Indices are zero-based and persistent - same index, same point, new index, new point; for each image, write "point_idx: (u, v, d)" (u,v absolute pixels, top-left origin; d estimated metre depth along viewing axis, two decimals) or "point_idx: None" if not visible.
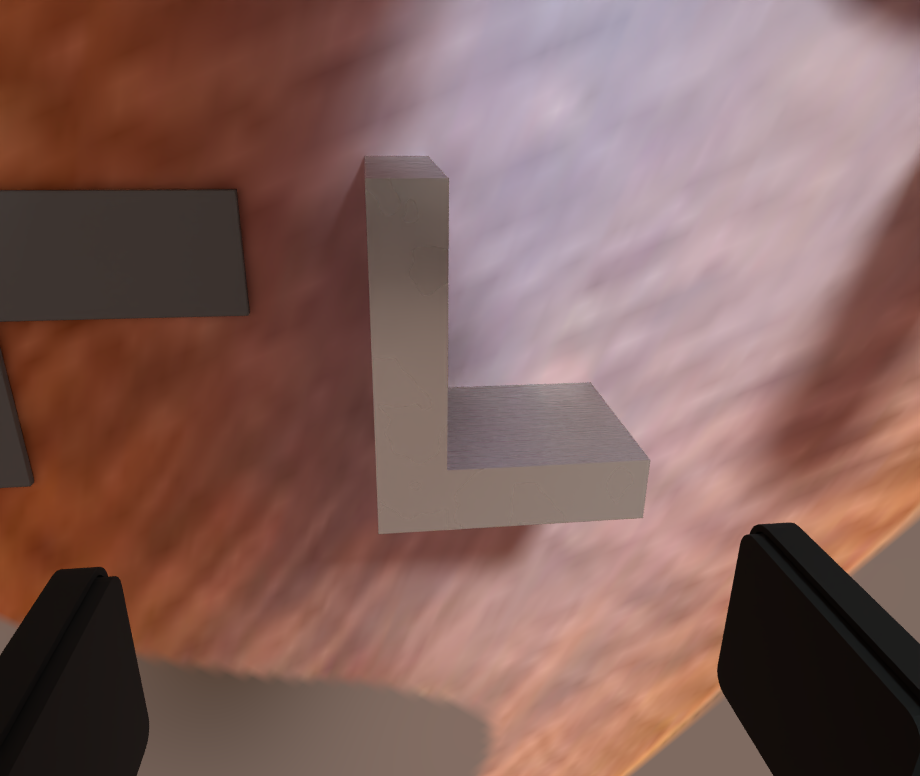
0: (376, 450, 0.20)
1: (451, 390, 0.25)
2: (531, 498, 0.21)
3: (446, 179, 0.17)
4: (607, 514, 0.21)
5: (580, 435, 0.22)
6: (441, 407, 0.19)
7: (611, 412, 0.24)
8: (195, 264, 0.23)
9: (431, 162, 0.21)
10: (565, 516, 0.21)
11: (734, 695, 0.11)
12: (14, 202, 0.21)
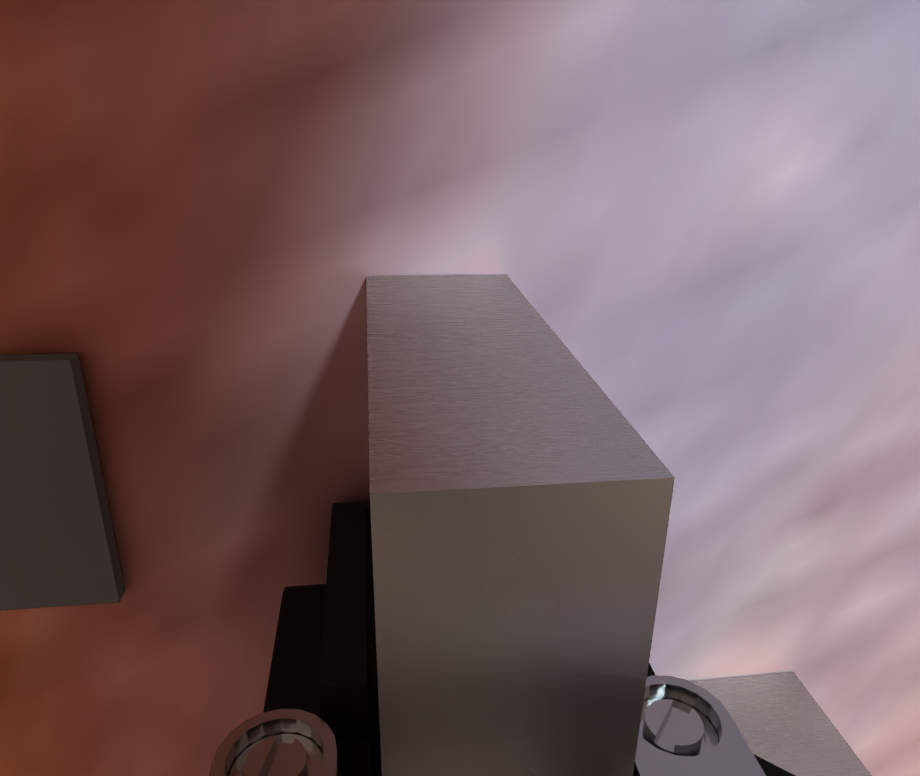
0: None
1: None
2: None
3: (667, 483, 0.05)
4: None
5: None
6: None
7: None
8: None
9: (533, 314, 0.08)
10: None
11: None
12: None
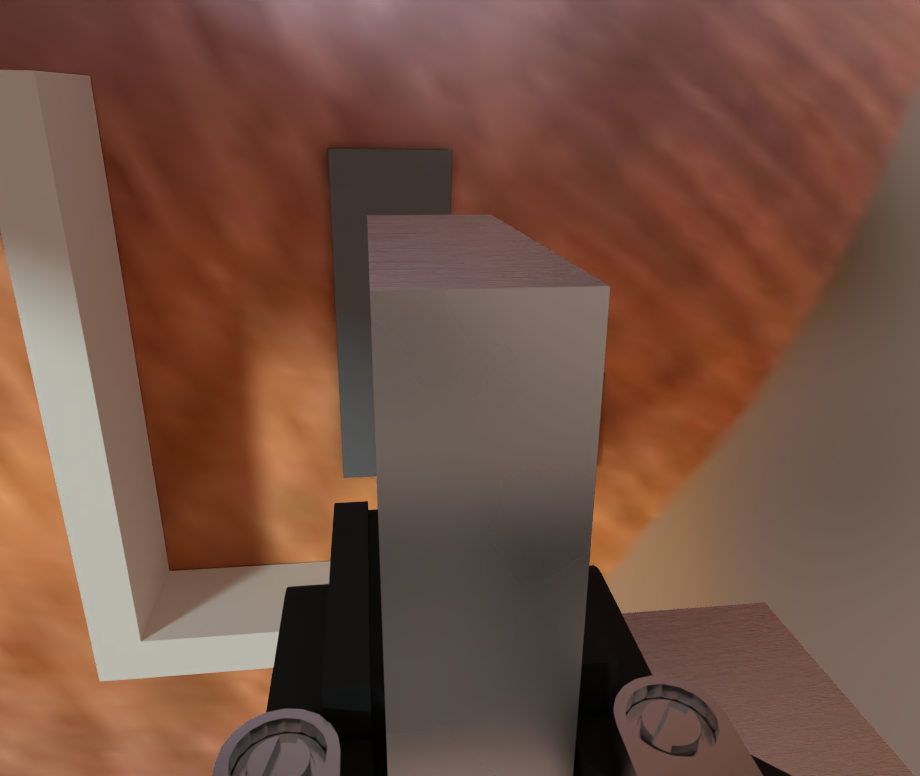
0: None
1: None
2: None
3: (604, 289, 0.06)
4: None
5: None
6: None
7: (840, 696, 0.12)
8: (399, 196, 0.24)
9: (511, 230, 0.10)
10: None
11: None
12: (346, 339, 0.25)
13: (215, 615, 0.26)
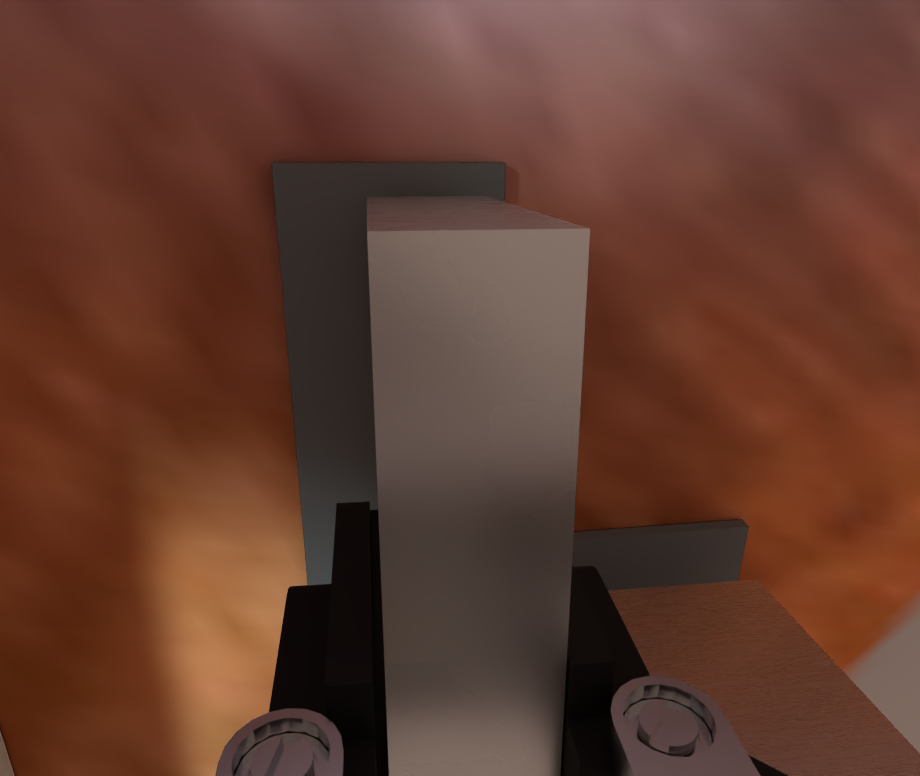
0: None
1: None
2: None
3: (584, 231, 0.06)
4: None
5: (801, 736, 0.11)
6: (547, 758, 0.08)
7: (830, 663, 0.13)
8: None
9: (503, 203, 0.10)
10: None
11: None
12: (316, 494, 0.14)
13: None
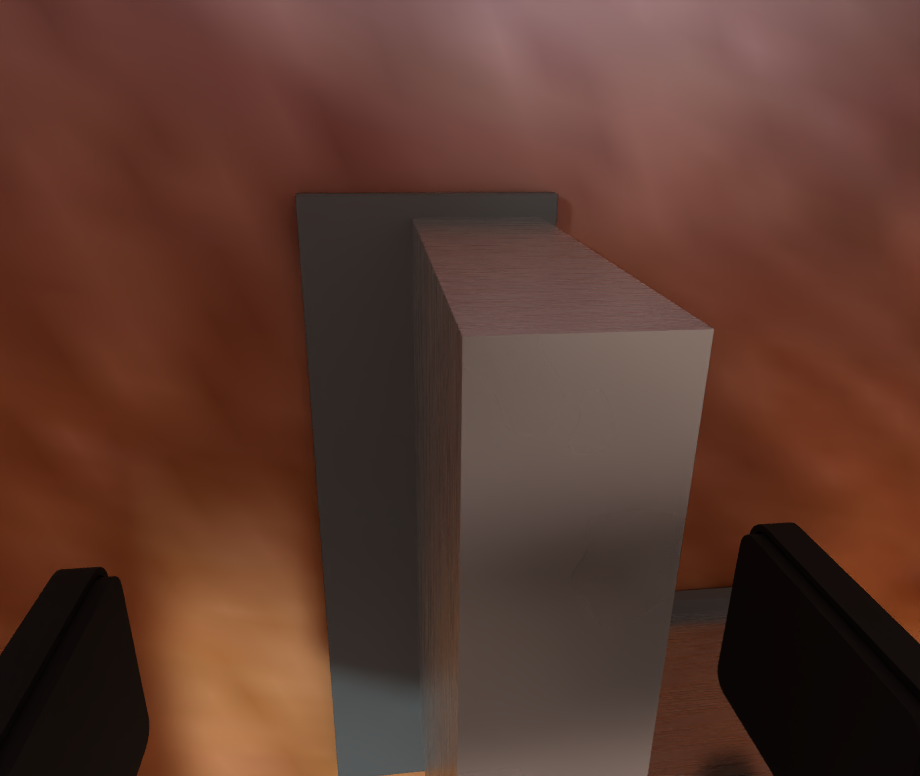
0: None
1: None
2: None
3: (708, 333, 0.06)
4: None
5: None
6: None
7: None
8: None
9: (570, 240, 0.09)
10: None
11: (734, 695, 0.11)
12: (339, 557, 0.13)
13: None
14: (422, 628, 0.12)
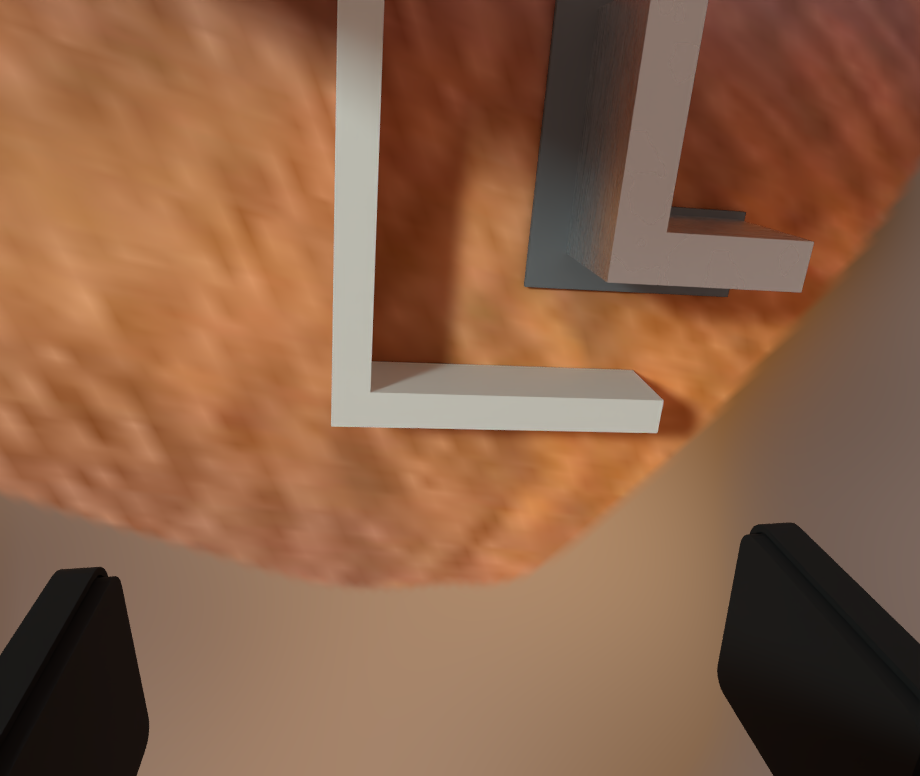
0: (619, 208, 0.26)
1: None
2: (722, 265, 0.27)
3: None
4: (776, 286, 0.28)
5: (752, 231, 0.29)
6: (672, 177, 0.26)
7: (767, 228, 0.30)
8: None
9: None
10: (745, 284, 0.28)
11: (734, 695, 0.11)
12: (546, 161, 0.31)
13: (422, 384, 0.31)
14: (583, 183, 0.30)
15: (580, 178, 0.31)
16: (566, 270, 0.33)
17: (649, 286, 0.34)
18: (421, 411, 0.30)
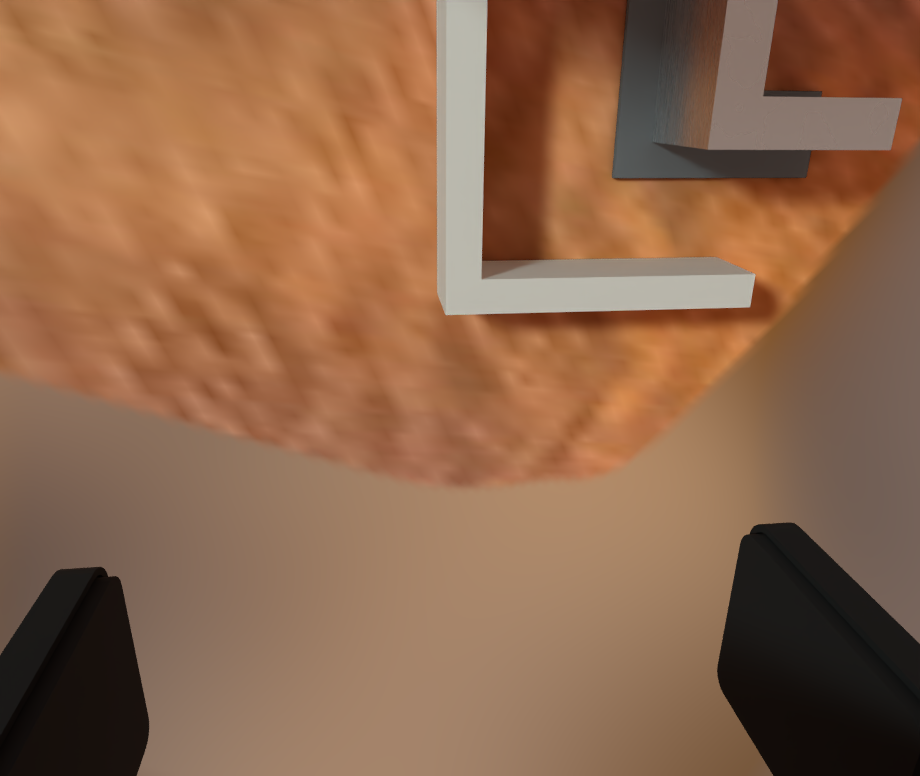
0: (718, 74, 0.28)
1: None
2: (816, 126, 0.29)
3: None
4: (866, 144, 0.29)
5: None
6: (767, 40, 0.27)
7: None
8: None
9: None
10: (837, 144, 0.29)
11: (734, 695, 0.11)
12: (631, 51, 0.32)
13: (526, 273, 0.33)
14: (669, 68, 0.32)
15: (665, 64, 0.32)
16: (652, 159, 0.34)
17: (731, 171, 0.35)
18: (528, 296, 0.32)
